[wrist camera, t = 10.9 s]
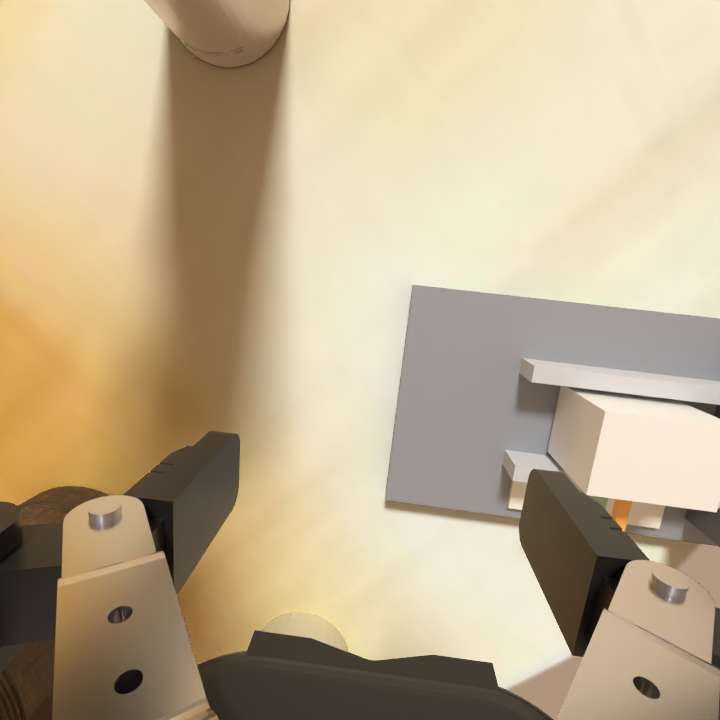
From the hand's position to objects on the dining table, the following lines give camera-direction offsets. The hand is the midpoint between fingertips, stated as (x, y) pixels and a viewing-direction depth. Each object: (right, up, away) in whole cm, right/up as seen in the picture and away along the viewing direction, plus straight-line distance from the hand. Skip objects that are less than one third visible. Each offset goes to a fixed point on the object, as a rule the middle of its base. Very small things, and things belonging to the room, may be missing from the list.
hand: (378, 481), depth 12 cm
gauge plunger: (+18, -4, +22) cm, 29 cm away
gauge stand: (+17, -1, +23) cm, 29 cm away
